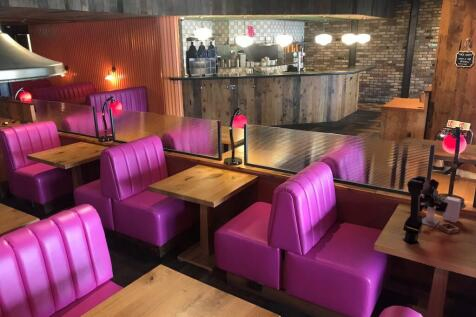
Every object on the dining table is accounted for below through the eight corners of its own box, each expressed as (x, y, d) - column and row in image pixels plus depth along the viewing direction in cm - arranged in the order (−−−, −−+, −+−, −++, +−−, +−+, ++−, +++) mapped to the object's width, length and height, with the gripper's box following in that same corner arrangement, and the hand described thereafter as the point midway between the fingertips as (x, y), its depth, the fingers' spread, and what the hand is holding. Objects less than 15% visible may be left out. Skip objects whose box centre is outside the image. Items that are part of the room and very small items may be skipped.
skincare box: (458, 220, 259) (462, 199, 254) (455, 223, 255) (459, 201, 250) (444, 216, 264) (448, 195, 260) (441, 219, 260) (445, 198, 256)
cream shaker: (431, 223, 253) (433, 207, 250) (424, 220, 256) (426, 205, 253) (434, 221, 255) (436, 205, 253) (427, 218, 259) (429, 203, 256)
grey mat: (434, 227, 249) (434, 226, 248) (419, 222, 254) (419, 222, 254) (439, 221, 257) (439, 220, 256) (424, 217, 262) (424, 216, 262)
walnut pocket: (448, 233, 241) (448, 230, 240) (437, 227, 248) (438, 224, 247) (458, 231, 243) (459, 228, 242) (447, 226, 250) (448, 222, 250)
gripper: (449, 190, 240) (451, 202, 251) (417, 183, 251) (421, 195, 262) (444, 206, 236) (446, 217, 247) (411, 198, 248) (415, 209, 259)
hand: (432, 209), depth 254 cm, fingers open, 5 cm apart
